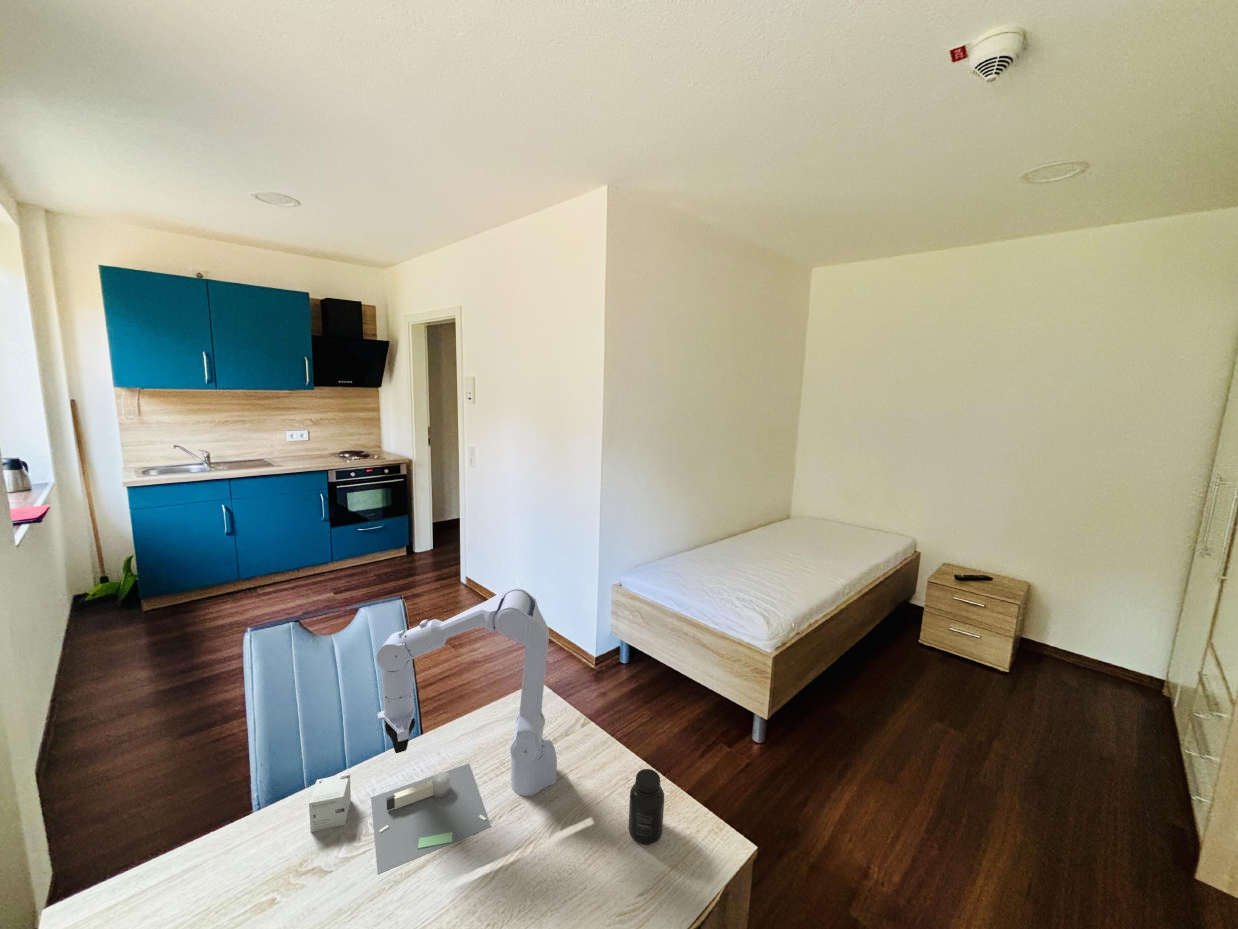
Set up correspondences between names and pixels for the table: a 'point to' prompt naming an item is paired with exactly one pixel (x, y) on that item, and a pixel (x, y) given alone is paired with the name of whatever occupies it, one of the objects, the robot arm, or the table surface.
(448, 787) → the peg lever
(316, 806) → the skincare box
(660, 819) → the supplement bottle
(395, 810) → the tuner board
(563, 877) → the table surface
